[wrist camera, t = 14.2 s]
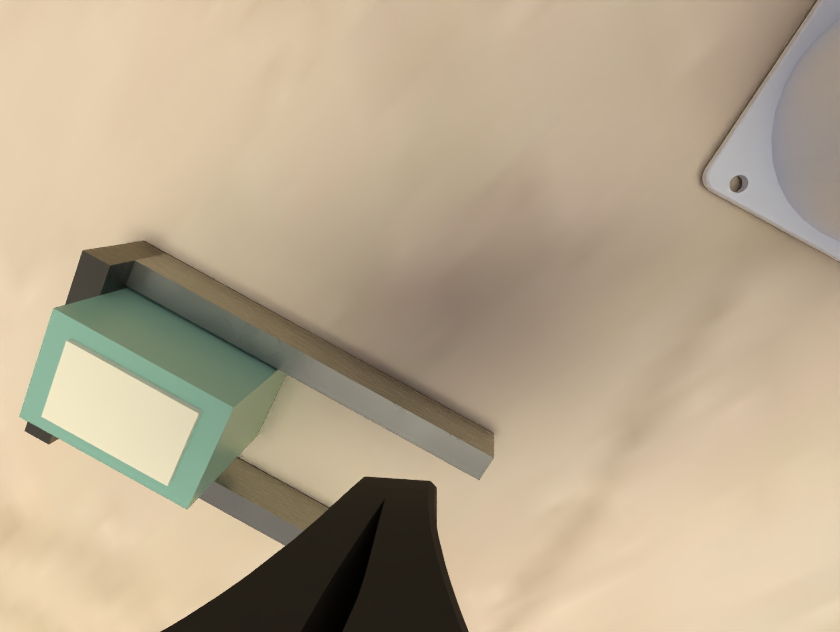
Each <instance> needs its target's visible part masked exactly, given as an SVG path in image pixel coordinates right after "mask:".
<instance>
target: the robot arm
mask: <svg viewBox="0 0 840 632" xmlns="http://www.w3.org/2000/svg"><path fill="white" fill-rule="evenodd" d="M735 176H739V177H740V178H741V179H742V186H741V188H740V189H739V190H738V191H737V192H733V191H732V190H731V189H730V185H729V184H730V181H731V179H732V178H733V177H735ZM703 184H704V186H705V187H706V188H707V189H708V190H709V191H711V192H712V193H714V194H716V195H718V196H720V197H722V198H723V199H725V200H727V201H729V202H731V203H733V204H734V205H736V206H738V207H740V208H742V209H743V210H745V211H747V212H749V213H751V214H753V215H754V216H756V217H758V218H760V219H762V220H764V221H765V222H767V223H769V224H771V225H773V226H775V227H776V228H778V229H780V230H782V231H784V232H785V233H787V234H789V235H791V236H793V237H795V238H796V239H798V240H800V241H802V242H804V243H806V244H807V245H809V246H811V247H813V248H815V249H816V250H818V251H820V252H822V253H824V254H826V255H827V256H829V257H831V258H833V259H835V260H837V261H838V262H840V0H817V2H816V3H815V5H814V6H813V8H812V9H811V11H810V12H809V14H808V15H807V17H806V18H805V20H804V21H803V23H802V24H801V26H800V27H799V29H798V30H797V32H796V33H795V35H794V36H793V38H792V39H791V41H790V42H789V44H788V45H787V47H786V48H785V50H784V51H783V53H782V54H781V56H780V57H779V59H778V60H777V62H776V63H775V65H774V66H773V68H772V69H771V71H770V72H769V74H768V75H767V77H766V78H765V80H764V81H763V83H762V84H761V86H760V87H759V89H758V90H757V92H756V93H755V95H754V96H753V98H752V99H751V101H750V102H749V104H748V105H747V107H746V108H745V110H744V111H743V113H742V114H741V116H740V117H739V119H738V120H737V122H736V123H735V125H734V126H733V128H732V129H731V131H730V132H729V134H728V135H727V137H726V138H725V140H724V141H723V143H722V144H721V146H720V147H719V149H718V150H717V152H716V153H715V155H714V156H713V158H712V159H711V161H710V162H709V164H708V165H707V167H706V168H705V170H704V173H703ZM161 632H469V631H468V629H467V626H466V624H465V621H464V619H463V616H462V613H461V611H460V608H459V605H458V603H457V600H456V597H455V594H454V591H453V588H452V585H451V582H450V579H449V575H448V572H447V569H446V565H445V561H444V557H443V553H442V549H441V545H440V541H439V537H438V531H437V487H436V486H435V485H434V484H433V483H432V482H431V481H422V480H407V479H392V478H377V477H364V478H362V479H361V480H360V481H359V482H358V483H357V484H356V485H354V486H353V487H352V488H351V489H350V490H349V491H348V492H347V493H345V494H344V495H343V496H342V497H341V498H340V499H339V500H338V501H337V502H336V503H334V504H333V505H332V506H331V507H330V508H329V509H328V510H327V511H326V512H324V513H323V514H322V515H321V516H320V517H319V518H318V519H317V520H315V521H314V522H313V523H312V524H311V525H310V526H308V527H307V528H306V529H305V530H304V531H303V532H302V533H300V534H299V535H298V536H297V537H296V538H295V539H293V540H292V541H291V542H290V543H289V544H287V545H286V546H285V547H283V548H282V549H281V550H280V551H278V552H277V553H276V554H274V555H273V556H272V557H271V558H269V559H268V560H267V561H266V562H264V563H263V564H262V565H260V566H259V567H258V568H257V569H255V570H254V571H253V572H251V573H250V574H249V575H247V576H246V577H245V578H243V579H242V580H240V581H239V582H238V583H236V584H235V585H233V586H232V587H231V588H229V589H228V590H226V591H225V592H223V593H222V594H220V595H219V596H217V597H216V598H214V599H213V600H211V601H210V602H208V603H207V604H205V605H203V606H202V607H200V608H199V609H197V610H196V611H194V612H193V613H191V614H190V615H188V616H186V617H185V618H183V619H182V620H180V621H178V622H177V623H175V624H173V625H172V626H170V627H168V628H166V629H165V630H163V631H161Z"/></svg>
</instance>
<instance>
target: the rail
mask: <svg viewBox="0 0 840 632" xmlns="http://www.w3.org/2000/svg"><path fill="white" fill-rule="evenodd" d="M128 287H130V288H132V289H133V290H135V291H137V292H139V293H141V294H142V295H144V296H146V297H148V298H150V299H152V300H153V301H155V302H157V303H159V304H161V305H162V306H164V307H166V308H168V309H170V310H172V311H173V312H175V313H177V314H179V315H181V316H182V317H184V318H186V319H188V320H190V321H191V322H193V323H195V324H197V325H199V326H201V327H202V328H204V329H206V330H208V331H210V332H211V333H213V334H215V335H217V336H219V337H220V338H222V339H224V340H226V341H228V342H230V343H231V344H233V345H235V346H237V347H239V348H240V349H242V350H244V351H246V352H248V353H249V354H251V355H253V356H255V357H257V358H259V359H260V360H262V361H264V362H266V363H268V364H269V365H271V366H273V367H275V368H277V369H279V370H280V371H282V372H284V373H286V374H288V375H289V376H291V377H293V378H295V379H297V380H298V381H300V382H302V383H304V384H306V385H308V386H309V387H311V388H313V389H315V390H317V391H318V392H320V393H322V394H324V395H326V396H327V397H329V398H331V399H333V400H335V401H337V402H338V403H340V404H342V405H344V406H346V407H347V408H349V409H351V410H353V411H355V412H356V413H358V414H360V415H362V416H364V417H366V418H367V419H369V420H371V421H373V422H375V423H376V424H378V425H380V426H382V427H384V428H386V429H387V430H389V431H391V432H393V433H395V434H396V435H398V436H400V437H402V438H404V439H405V440H407V441H409V442H411V443H413V444H415V445H416V446H418V447H420V448H422V449H424V450H425V451H427V452H429V453H431V454H433V455H434V456H436V457H438V458H440V459H442V460H444V461H445V462H447V463H449V464H451V465H453V466H454V467H456V468H458V469H460V470H462V471H463V472H465V473H467V474H469V475H471V476H473V477H474V478H476V479H478V480H480V478H481V477H482V475H483V474H484V472H485V471H486V469H487V467H488V466H489V464H490V463H491V461H492V460H493V458H494V434H493V433H491V432H490V431H488V430H486V429H484V428H482V427H480V426H479V425H477V424H475V423H473V422H471V421H470V420H468V419H466V418H464V417H462V416H460V415H459V414H457V413H455V412H453V411H451V410H450V409H448V408H446V407H444V406H442V405H441V404H439V403H437V402H435V401H433V400H431V399H430V398H428V397H426V396H424V395H422V394H421V393H419V392H417V391H415V390H413V389H411V388H410V387H408V386H406V385H404V384H402V383H401V382H399V381H397V380H395V379H393V378H392V377H390V376H388V375H386V374H384V373H382V372H381V371H379V370H377V369H375V368H373V367H372V366H370V365H368V364H366V363H364V362H362V361H361V360H359V359H357V358H355V357H353V356H352V355H350V354H348V353H346V352H344V351H343V350H341V349H339V348H337V347H335V346H333V345H332V344H330V343H328V342H326V341H324V340H323V339H321V338H319V337H317V336H315V335H313V334H312V333H310V332H308V331H306V330H304V329H303V328H301V327H299V326H297V325H295V324H294V323H292V322H290V321H288V320H286V319H284V318H283V317H281V316H279V315H277V314H275V313H274V312H272V311H270V310H268V309H266V308H264V307H263V306H261V305H259V304H257V303H255V302H254V301H252V300H250V299H248V298H246V297H245V296H243V295H241V294H239V293H237V292H235V291H234V290H232V289H230V288H228V287H226V286H225V285H223V284H221V283H219V282H217V281H215V280H214V279H212V278H210V277H208V276H206V275H205V274H203V273H201V272H199V271H197V270H196V269H194V268H192V267H190V266H188V265H186V264H185V263H183V262H181V261H179V260H177V259H176V258H174V257H172V256H170V255H168V254H166V253H165V252H163V251H161V250H159V249H157V248H156V247H154V246H152V245H150V244H148V243H146V242H145V241H140V242H133V243H127V244H120V245H114V246H108V247H101V248H95V249H89V250H83V251H82V254H81V257H80V260H79V263H78V266H77V270H76V273H75V276H74V279H73V282H72V285H71V288H70V291H69V295H68V298H67V301H66V304H65V305H67V304H71V303H74V302H78V301H81V300H85V299H89V298H92V297H96V296H100V295H103V294H107V293H110V292H114V291H118V290H121V289H125V288H128ZM25 431H26V432H27V433H29V434H31V435H33V436H35V437H36V438H38V439H40V440H42V441H44V442H45V443H47V444H51V443H52V442H54V441H56V440H57V439H59V438H57V437H55V436H53V435H52V434H50V433H48V432H46V431H44V430H42V429H41V428H39V427H37V426H35V425H33V424H32V423H30V422H27V425H26V428H25ZM199 498H200V499H202V500H204V501H205V502H207V503H209V504H211V505H213V506H214V507H216V508H218V509H220V510H222V511H223V512H225V513H227V514H229V515H231V516H232V517H234V518H236V519H238V520H240V521H242V522H243V523H245V524H247V525H249V526H251V527H252V528H254V529H256V530H258V531H260V532H261V533H263V534H265V535H267V536H269V537H270V538H272V539H274V540H276V541H278V542H280V543H281V544H283V545H285V546H286V545H287V544H289V543H290V542H291V541H292V540H293V539H295V538H296V537H297V536H298V535H299V534H300V533H302V532H303V531H304V530H305V529H306V528H307V527H308V526H310V525H311V524H312V523H313V522H314V521H315V520H317V519H318V518H319V517H320V516H321V515H322V514H323V513H324V512H326V511H327V510H328V509H329V508H328V507H326V506H324V505H322V504H320V503H319V502H317V501H315V500H313V499H311V498H310V497H308V496H306V495H304V494H302V493H301V492H299V491H297V490H295V489H293V488H291V487H290V486H288V485H286V484H284V483H282V482H281V481H279V480H277V479H275V478H273V477H272V476H270V475H268V474H266V473H264V472H263V471H261V470H259V469H257V468H255V467H253V466H252V465H250V464H248V463H246V462H244V461H243V460H241V459H239V458H236V459H235V460H234V461H233V462H232V463H231V464H230V465H229V466H228V467H227V468H226V469H225V470H224V471H223V472H222V473H221V474H220V475H219V476H218V478H217V479H216V480H215V481H214V482H213V483H212V484H211V485H210V486H209V487H208V488H207V489H206V490H205V491H204V492H203V493H202V494H201V495H200V497H199Z"/></svg>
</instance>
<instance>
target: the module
mask: <svg viewBox="0 0 840 632" xmlns="http://www.w3.org/2000/svg"><path fill="white" fill-rule="evenodd" d="M285 376H286V373H284V372H282V371H280V370H279V369H277V368H275V367H273V366H271V365H269V364H268V363H266V362H264V361H262V360H260V359H259V358H257V357H255V356H253V355H251V354H249V353H248V352H246V351H244V350H242V349H240V348H239V347H237V346H235V345H233V344H231V343H230V342H228V341H226V340H224V339H222V338H220V337H219V336H217V335H215V334H213V333H211V332H210V331H208V330H206V329H204V328H202V327H201V326H199V325H197V324H195V323H193V322H191V321H190V320H188V319H186V318H184V317H182V316H181V315H179V314H177V313H175V312H173V311H172V310H170V309H168V308H166V307H164V306H162V305H161V304H159V303H157V302H155V301H153V300H152V299H150V298H148V297H146V296H144V295H142V294H141V293H139V292H137V291H135V290H133V289H132V288H130V287H128V288H125V289H121V290H118V291H114V292H110V293H107V294H103V295H100V296H96V297H92V298H89V299H85V300H81V301H78V302H74V303H71V304H67V305H63V306H60V307H56V308H53V311H52V314H51V317H50V321H49V324H48V327H47V330H46V333H45V336H44V340H43V343H42V346H41V349H40V352H39V356H38V359H37V362H36V365H35V368H34V371H33V375H32V378H31V381H30V384H29V387H28V391H27V394H26V397H25V400H24V403H23V406H22V410H21V413H20V416H19V417H21V418H23V419H24V420H26V421H28V422H30V423H32V424H33V425H35V426H37V427H39V428H41V429H42V430H44V431H46V432H48V433H50V434H52V435H53V436H55V437H57V438H59V439H61V440H62V441H64V442H66V443H68V444H70V445H71V446H73V447H75V448H77V449H79V450H80V451H82V452H84V453H86V454H88V455H90V456H91V457H93V458H95V459H97V460H99V461H100V462H102V463H104V464H106V465H108V466H109V467H111V468H113V469H115V470H117V471H118V472H120V473H122V474H124V475H126V476H127V477H129V478H131V479H133V480H135V481H137V482H138V483H140V484H142V485H144V486H146V487H147V488H149V489H151V490H153V491H155V492H156V493H158V494H160V495H162V496H164V497H165V498H167V499H169V500H171V501H173V502H174V503H176V504H178V505H180V506H182V507H184V508H185V509H188V508H189V507H190V506H191V505H192V504H193V503H194V502H195V501H196V500H197V499H198V498H199V497H200V495H201V494H202V493H203V492H204V491H205V490H206V489H207V488H208V487H209V486H210V485H211V484H212V483H213V482H214V481H215V480H216V479H217V478H218V476H219V475H220V474H221V473H222V472H223V471H224V470H225V469H226V468H227V467H228V466H229V465H230V464H231V463H232V462H233V461H234V460H235V459H236V458H237V456H238V455H239V454H240V453H241V452H242V451H243V450H244V449H245V448H246V447H247V446H248V445H249V444H250V443H251V442H252V441H253V440H254V439H255V438H256V436H257V435H258V432H259V430H260V428H261V426H262V424H263V422H264V420H265V418H266V416H267V414H268V412H269V410H270V408H271V405H272V403H273V401H274V399H275V397H276V395H277V393H278V391H279V389H280V387H281V385H282V383H283V381H284V378H285Z"/></svg>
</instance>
